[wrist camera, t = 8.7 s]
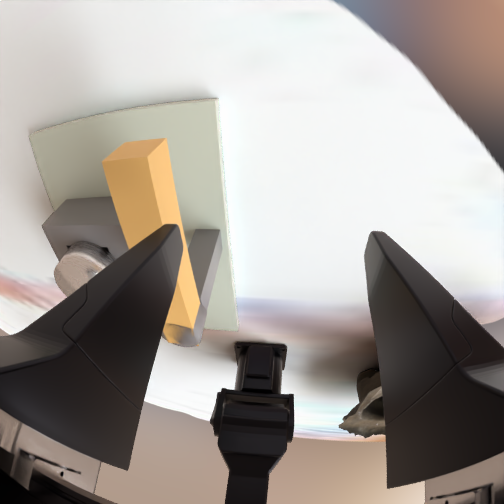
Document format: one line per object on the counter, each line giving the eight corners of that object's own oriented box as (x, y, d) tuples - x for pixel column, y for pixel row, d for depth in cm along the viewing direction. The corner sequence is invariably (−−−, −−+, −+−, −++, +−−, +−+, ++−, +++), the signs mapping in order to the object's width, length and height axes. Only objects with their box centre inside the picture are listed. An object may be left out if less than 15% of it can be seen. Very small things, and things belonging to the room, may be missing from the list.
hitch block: (238, 324, 33) (229, 388, 27) (110, 310, 34) (87, 361, 28) (218, 98, 17) (179, 135, 11) (35, 131, 18) (-27, 176, 12)
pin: (147, 261, 26) (122, 316, 21) (100, 258, 26) (71, 307, 21) (132, 211, 22) (96, 265, 17) (81, 212, 23) (43, 260, 18)
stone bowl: (319, 396, 45) (320, 443, 38) (378, 298, 30) (396, 367, 23) (432, 393, 45) (440, 432, 37) (508, 309, 30) (531, 356, 22)
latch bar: (209, 323, 19) (203, 348, 17) (172, 319, 19) (165, 344, 18) (173, 137, 11) (154, 156, 9) (119, 143, 11) (95, 162, 9)
